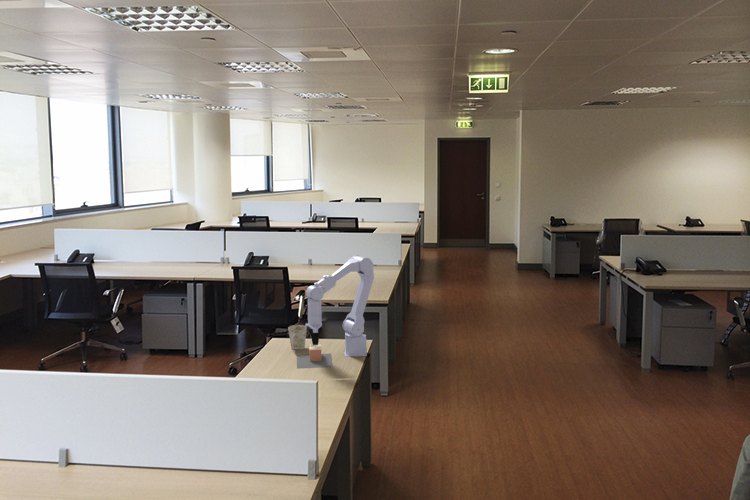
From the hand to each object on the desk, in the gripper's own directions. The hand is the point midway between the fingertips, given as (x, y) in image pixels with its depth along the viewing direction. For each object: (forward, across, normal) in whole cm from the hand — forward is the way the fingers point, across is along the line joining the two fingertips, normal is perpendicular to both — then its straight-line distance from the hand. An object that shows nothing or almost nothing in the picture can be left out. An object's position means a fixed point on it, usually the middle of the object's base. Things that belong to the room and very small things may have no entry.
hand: (315, 344), depth 275 cm
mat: (+7, +1, 0) cm, 7 cm away
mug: (+8, -17, -8) cm, 21 cm away
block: (+4, +1, 0) cm, 5 cm away
